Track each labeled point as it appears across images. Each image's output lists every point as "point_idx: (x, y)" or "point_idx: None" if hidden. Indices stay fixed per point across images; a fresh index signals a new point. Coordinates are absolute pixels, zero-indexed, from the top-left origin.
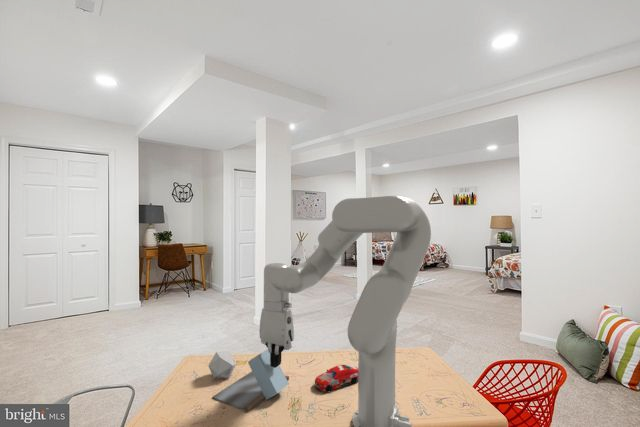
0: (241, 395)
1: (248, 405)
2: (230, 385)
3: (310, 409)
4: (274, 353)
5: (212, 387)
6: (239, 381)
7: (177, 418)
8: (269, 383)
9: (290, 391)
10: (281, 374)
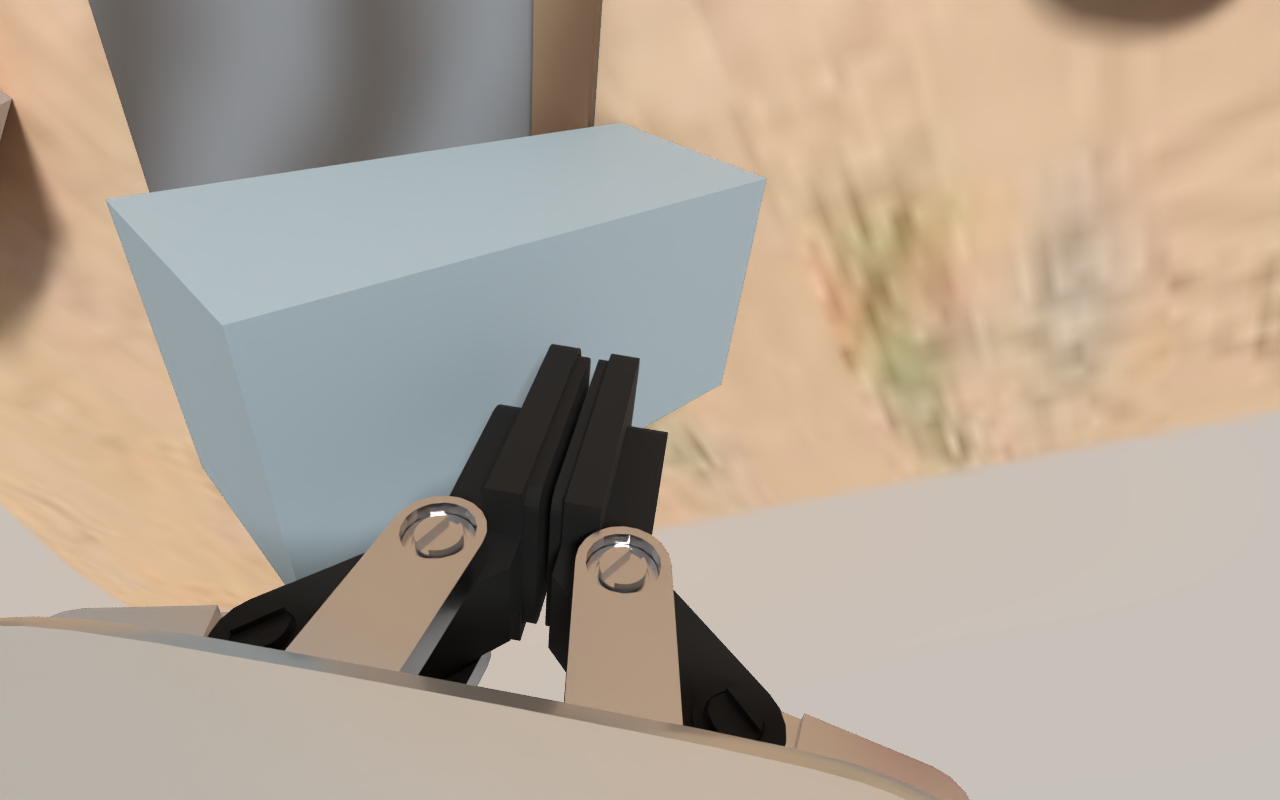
0: None
1: None
2: None
3: (1064, 318)
4: (537, 594)
5: (78, 291)
6: (164, 143)
7: (265, 584)
8: None
9: (764, 92)
10: (662, 251)
